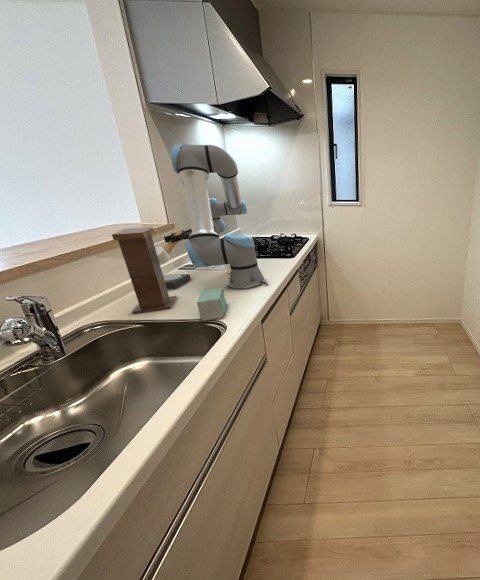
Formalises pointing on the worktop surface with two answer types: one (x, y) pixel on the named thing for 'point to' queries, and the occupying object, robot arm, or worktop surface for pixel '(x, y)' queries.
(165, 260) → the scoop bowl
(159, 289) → the shelf stand
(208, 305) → the box
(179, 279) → the kitchen scale
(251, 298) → the worktop surface
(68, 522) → the worktop surface
